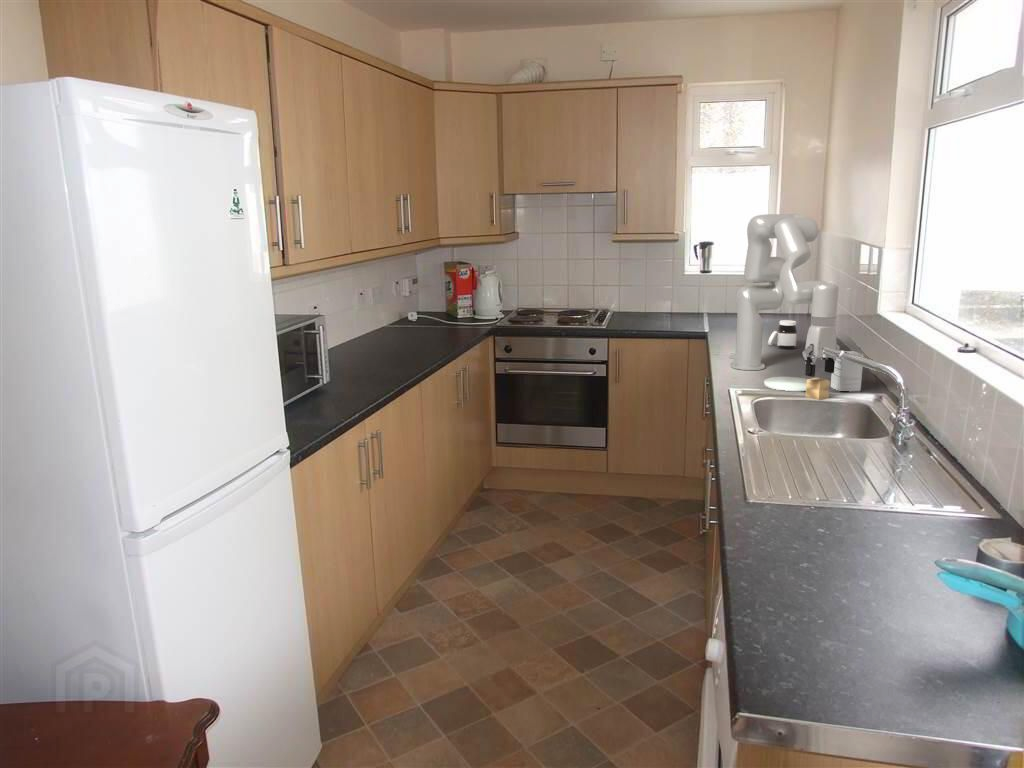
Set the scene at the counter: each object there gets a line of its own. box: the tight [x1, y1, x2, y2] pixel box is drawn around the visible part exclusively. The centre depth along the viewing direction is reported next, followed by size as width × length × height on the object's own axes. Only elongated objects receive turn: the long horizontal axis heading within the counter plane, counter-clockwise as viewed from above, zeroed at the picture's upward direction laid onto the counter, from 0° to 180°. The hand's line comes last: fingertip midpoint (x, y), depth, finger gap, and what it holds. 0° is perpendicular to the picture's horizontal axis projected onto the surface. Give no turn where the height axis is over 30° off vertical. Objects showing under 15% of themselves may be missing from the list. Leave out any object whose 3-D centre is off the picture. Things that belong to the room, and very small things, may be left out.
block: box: [805, 377, 831, 401], centre depth 251 cm, size 5×5×6 cm
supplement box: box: [830, 350, 864, 392], centre depth 260 cm, size 7×7×13 cm
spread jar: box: [767, 319, 798, 350], centre depth 333 cm, size 12×11×12 cm
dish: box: [763, 376, 808, 392], centre depth 267 cm, size 18×18×1 cm
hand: (819, 374), depth 249 cm, fingers open, 9 cm apart
